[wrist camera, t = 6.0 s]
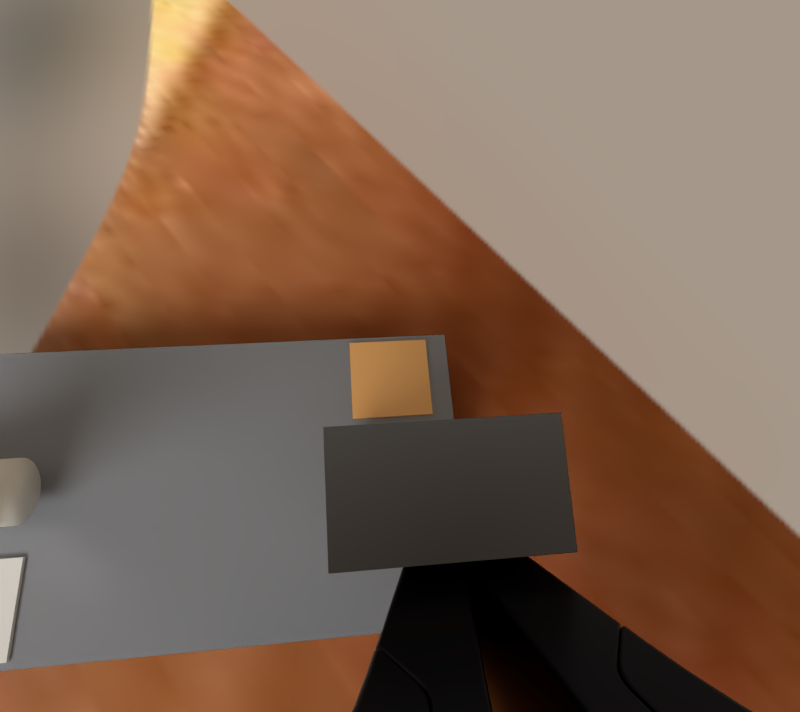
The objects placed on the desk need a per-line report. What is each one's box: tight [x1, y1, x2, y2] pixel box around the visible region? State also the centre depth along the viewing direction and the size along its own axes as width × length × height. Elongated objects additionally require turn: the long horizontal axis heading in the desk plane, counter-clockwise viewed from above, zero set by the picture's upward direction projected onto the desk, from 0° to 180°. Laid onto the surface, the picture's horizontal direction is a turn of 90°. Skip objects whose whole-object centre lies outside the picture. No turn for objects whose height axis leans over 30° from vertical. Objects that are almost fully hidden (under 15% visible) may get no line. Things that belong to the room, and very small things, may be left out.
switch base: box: [0, 335, 454, 671], centre depth 16 cm, size 9×16×2 cm, turn 94°
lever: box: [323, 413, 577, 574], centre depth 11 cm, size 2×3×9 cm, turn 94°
